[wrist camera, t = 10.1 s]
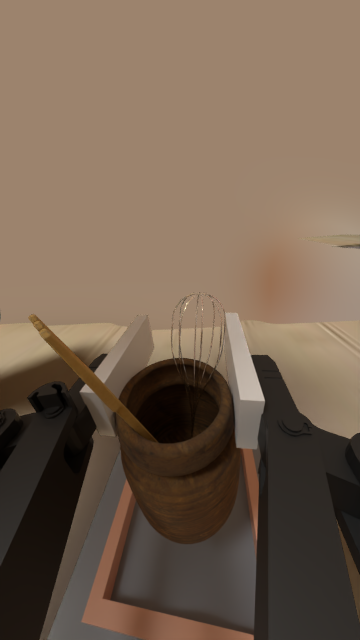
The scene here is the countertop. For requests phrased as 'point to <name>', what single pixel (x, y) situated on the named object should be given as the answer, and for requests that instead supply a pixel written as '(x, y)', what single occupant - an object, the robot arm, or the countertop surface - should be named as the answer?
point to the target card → (163, 573)
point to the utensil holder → (173, 438)
